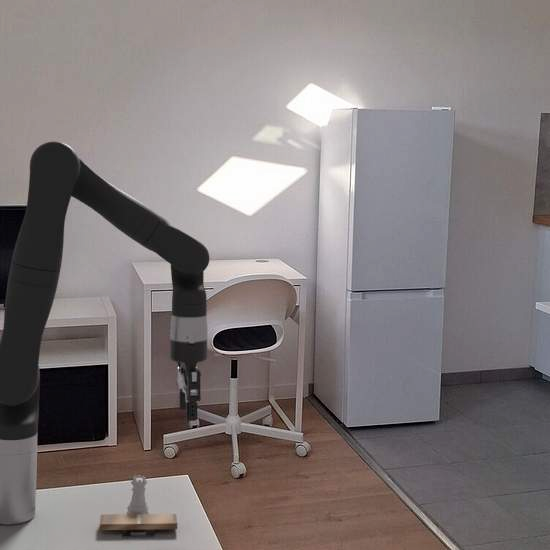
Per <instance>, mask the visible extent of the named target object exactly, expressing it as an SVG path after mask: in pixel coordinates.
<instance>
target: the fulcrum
mask: <svg viewBox="0 0 550 550" xmlns="http://www.w3.org/2000/svg"><path fill="white" fill-rule="evenodd" d="M124 536H125V537H124ZM131 536H133V537H131ZM134 536H135V537H134ZM122 538H155V529H152V530H122Z"/></svg>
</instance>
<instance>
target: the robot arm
mask: <svg viewBox="0 0 550 550" xmlns="http://www.w3.org/2000/svg"><path fill="white" fill-rule="evenodd" d="M27 193H28V194H27V202H26V209H25V214H24V216H23V220H22V223H21V226H20V229H19V232H18V236H17V240H16V242H15V246H14V250H13V252H12V253H13V254H12V257H11V261H10V262H11V263H10V268H9V271H8V272H9V273H8V277H7V287H6V293H5V302H4V315H3V316H4V317H3V318H4V319H3V327H2V333H1V338H0V525H8V526H9V525H17V524H23V523H26V522H28V521H30V520H32V519H33V518H34V517H35V516H36V504H37V503H36V501H37V499H36V497H37V470H38V469H37V465H38V462H37V460H38V434H39V433H38V430H39V417H40V416H39V414H40V413H39V412H40V386H41V384H40V383H41V371H40V366H39V361H40V360H39V359H40V353H41V352H40V351H41V344H42V340H43V336H44V332H45V329H46V325H47V323H48V319H49V316H50V314H51V310H52V307H53V305H54V300H55V297H56V293H57V289H58V285H59V278H60V275H61V274H60V273H61V269H62V263H63V262H62V261H63V252H64V243H65V240H64V238H65V221H66V218H67V217H66V216H67V212H68V208H69V205H70V201H71V197H72V198H74V199H76V200H77V201H79V202H81V203H82V204H84V205H86V206H87V207H88V208H90V209H92V210H93V211H95V212H96V213H97V214H99V215H100V216H101V217H102V218H103V219H104V220H106V221H107V222H108V223H109V224H111V225H113V227H114V228H116V229H117V230H119V231H120V232H121V233H123V234H124V235H126V236H127V237H129V238H130V239H132V240H133V241H134V242H136V243H137V244H140V245H141V246H142V247H144V248H145V249H147V250H149V251H151V252H153V253H155V254H157V255H158V256H159V257H161V259H163V260H164V261H165V262H167V263H169V264H170V274H171V275H170V276H171V284H172V293H171V294H172V296H171V297H172V298H171V321H170V330H169V331H170V332H169V333H170V335H169V336H170V338H169V339H170V341H169V342H170V343H169V344H170V345H169V347H170V348H169V352H170V353H169V357H170V360H172V361H173V362H175V363H176V364H177V370H176V372H177V373H176V374H177V375H176V377H177V379H176V381H177V382H176V385H177V390H178V392H179V393H178V394H179V398H178V399H179V400H178V401H179V403H178V406H179V407H178V408H179V409H180V410H182V411H183V410H184V411H185V419H186V421H187V422H195V421H197V420H198V403H199V402H201V375H202V374H201V371H200V369H198V366H197V364H198V363H201V362H205V361H206V360H207V359H208V320H207V319H208V318H207V306H208V303H207V302H208V301H207V292H206V288H205V286H204V282H205V281H204V279H205V278H204V274H205V273H204V271H206V269H207V268H208V266H209V264H210V253H209V250H208V248H207V247H206V246H205V245H204V243H202V242H201V241H199V240H198V239H196V238H194V237H193V236H191V235H189V234H188V233H186V232H184V231H183V230H181V229H180V228H179V227H176V226H175V225H173V224H172V223H170V221H168V220H167V219H166V218H164V217H163V216H161V215H160V214H159V213H157V212H156V211H154V210H153V209H152V208H150V207H149V206H147V205H146V204H144V203H143V202H141V201H139V200H138V199H136V198H135V197H133V196H131V195H130V194H128V193H126V192H125V191H123V190H121V189H119V188H118V187H116V186H115V185H113V184H112V183H110V182H108V181H107V180H106V179H105V178H103V177H102V176H101V175H99V174H98V173H96V172H95V171H94V170H93V169H92V168H91V167H90V166H89V165H88V164H87V163H85V161H83V159H82V158H80V156H78V154H77V152H76V151H75V149H73V148H72V147H71V146H70V145H69V144H67V143H65V142H61V141H56V140H54V141H53V140H52V141H47V142H44V143H42V144H41V145H39V146H38V147H37V148H36V149H35V150H34V151H33V153H32V155H31V156H30V161H29V181H28V192H27ZM192 393H194V395H192Z"/></svg>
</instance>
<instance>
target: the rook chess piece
mask: <svg viewBox="0 0 550 550" xmlns="http://www.w3.org/2000/svg"><path fill="white" fill-rule="evenodd" d="M146 479H147V478H146V477H145V476H144V475H134V476H132V480H131V481H130V483H131V485H132V488H131V491H132V494H131V500H130V502H129V505H128V506H127V507H126V509H127V511H126V514H150V513H149V512H150V511H149V505H148V504H147V502H146V495H145V494H146V493H145V491H146V485H147V484H148V481H147V480H146Z"/></svg>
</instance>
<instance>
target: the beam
mask: <svg viewBox="0 0 550 550" xmlns="http://www.w3.org/2000/svg"><path fill="white" fill-rule="evenodd" d="M98 527H99V528H98V529H99V531H123V530H152V529H154V530H178V518H177V513H148V514H127V513H126V514H125V513H124V514H123V513H122V514H121V513H119V514H115V513H114V514H111V513H109V514H100V515H99V526H98Z"/></svg>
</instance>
